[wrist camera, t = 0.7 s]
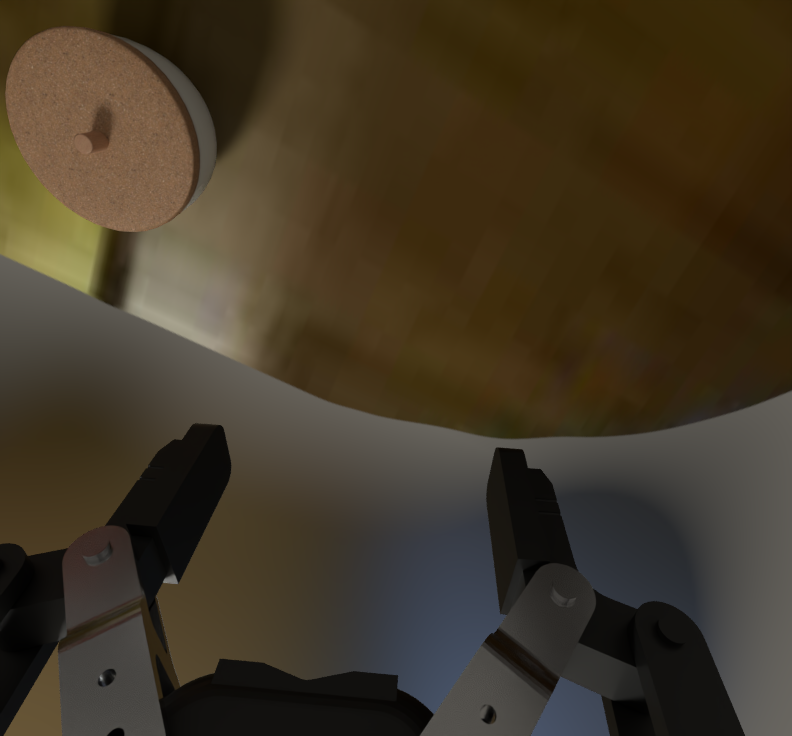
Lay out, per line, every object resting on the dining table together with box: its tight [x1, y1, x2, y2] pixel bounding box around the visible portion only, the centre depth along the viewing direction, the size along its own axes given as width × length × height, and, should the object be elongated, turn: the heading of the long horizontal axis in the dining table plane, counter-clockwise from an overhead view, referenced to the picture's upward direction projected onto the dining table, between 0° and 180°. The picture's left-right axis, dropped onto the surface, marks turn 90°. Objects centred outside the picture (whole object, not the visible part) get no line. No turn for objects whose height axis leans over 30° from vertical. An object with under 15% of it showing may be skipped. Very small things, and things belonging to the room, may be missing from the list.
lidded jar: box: [5, 26, 217, 232], centre depth 29 cm, size 11×11×9 cm
